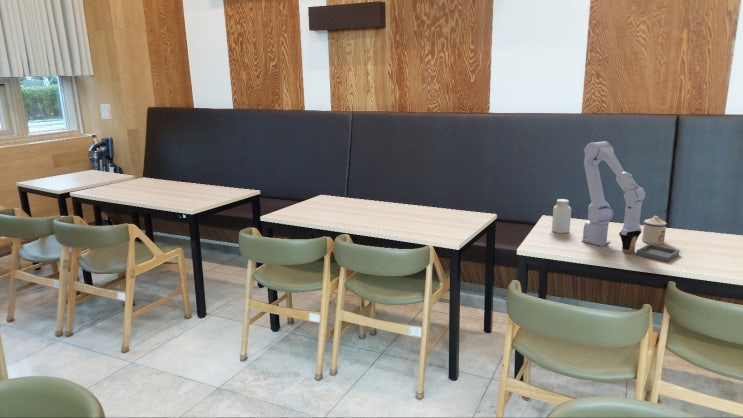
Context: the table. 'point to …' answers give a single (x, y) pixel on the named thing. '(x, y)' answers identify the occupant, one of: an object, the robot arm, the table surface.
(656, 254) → the charcoal tray
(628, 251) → the terracotta cup
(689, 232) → the table surface
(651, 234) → the teacup with lid
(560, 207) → the pill bottle
